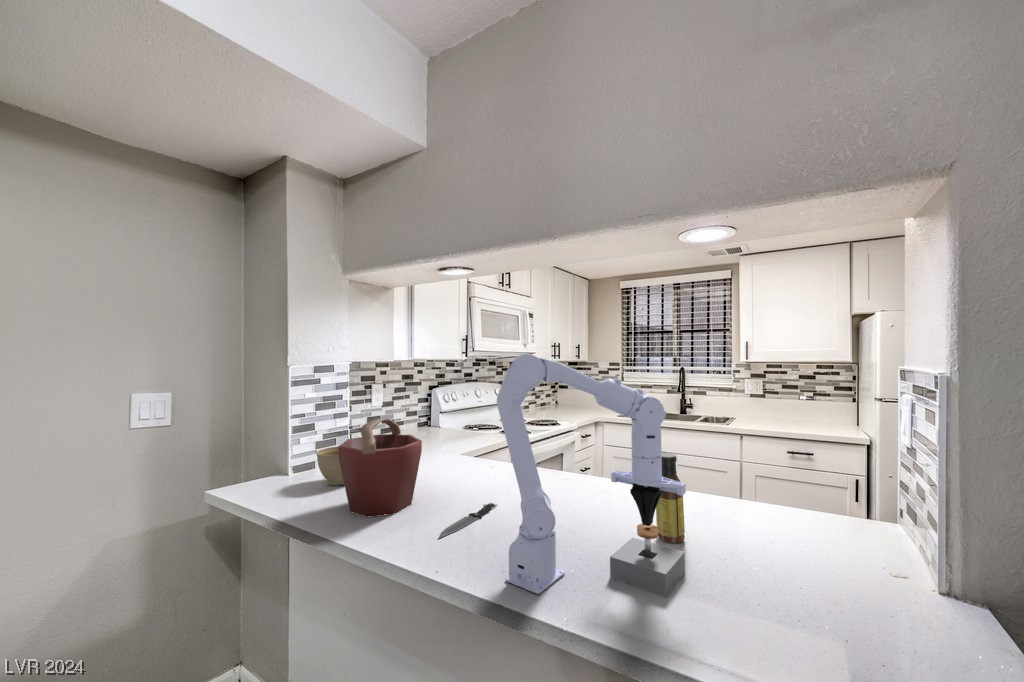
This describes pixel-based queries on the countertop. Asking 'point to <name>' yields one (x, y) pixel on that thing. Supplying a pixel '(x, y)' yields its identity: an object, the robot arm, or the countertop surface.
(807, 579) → the countertop surface
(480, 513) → the knife
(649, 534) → the plunger
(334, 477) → the planter bowl
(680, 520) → the sauce bottle
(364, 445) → the bucket
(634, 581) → the block
